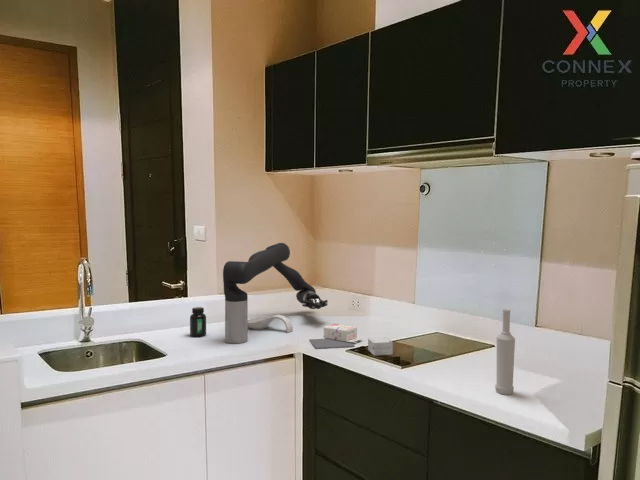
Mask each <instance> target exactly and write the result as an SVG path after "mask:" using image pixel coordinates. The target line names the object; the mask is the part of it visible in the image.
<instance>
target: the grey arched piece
mask: <svg viewBox="0 0 640 480" xmlns="http://www.w3.org/2000/svg"><path fill="white" fill-rule="evenodd" d="M276 319H278V320H281V321H282V322H283V324H284V325H285V331H286V334H287V333H291V332H293V330H294V329H293V327H294V326H293V324H292V323H291V321H290V320H289V318H288V317H286V316H284V315H282V314H275V315H272V316H269V317H257V318H255V317H254V318H250V319H248V328H250V329H252V330H264V329H266V327H268V326H269V325H270V324H271V323H272V322H273V321H274V320H276Z"/></svg>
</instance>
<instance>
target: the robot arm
mask: <svg viewBox="0 0 640 480" xmlns="http://www.w3.org/2000/svg"><path fill="white" fill-rule="evenodd" d="M289 247H290V246H288V244H287V243H284V242H278V243H275V244H272V245H269V246H267V247H266V248H265V249H263V250H259V251H257V252H254V253H253V254H251V255H250V256H249V258H248V261H234V260H229V261H226V262H225V263H224V265H223V269H222V280H223V295H224V304H225V305H224V311H225V312H224V313H225V314H224V339H225V340H224V341H225V343H226V344H227V343H229V344H243V343H246V342H248V338H249V336H248V335H249V334H248V332H249V331H248V328H249V327H248V320H249V319H248V318H249V317H248V315H249V314H248V311H249V309H248V307H249V306H248V301H249V298H248V297H249V296H248V292H246V291H244V290H242V289H240V288H239V286H238V285H246V284H247V283H249V282H250V281H252V280H253V279H254V278H255V277H256V276H259V275H260V274H262V273H264V272H266V271H269V270H270V269H271V268H274V269H275V270H276V271H277V272H278V273H280V275H282V276H283V277H284V278H285V279H286V281H288V284H289V285H290V286H291V287H292V289H293V290H294V291H297V293H296V294H295V295H296V300H297V301H298V302H299V303H300V304H301V305H302V307H303V308H304V307H306V308H309V309H310V310H316V309H317V310H320V309H321V308H324V307H326V306H329V305H328V299H325V300H322V299H321V297H320V296H319V295H318V293H317V291H316V289H315V288H314V287H313V286H312V285H311V284H309V283H307V282H306V281H305V279H304V278H303V276H302V275H301V274H300V272H298V271H297V270H296V269H294V268H293V267H291V266H288V265H287V264H285V263H283V262H286V261H287V260H288V259H289V258H290V255H291V250H290V248H289Z"/></svg>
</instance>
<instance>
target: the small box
mask: <svg viewBox="0 0 640 480" xmlns="http://www.w3.org/2000/svg"><path fill="white" fill-rule="evenodd" d="M367 351H368V352H370V353H371V354H372V355H373V356H391V355H392V356H393V353H394V342H393V341H392V339H390V338H389V337H387V336H380V337H368V338H367Z"/></svg>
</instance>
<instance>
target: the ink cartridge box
mask: <svg viewBox="0 0 640 480" xmlns="http://www.w3.org/2000/svg"><path fill="white" fill-rule="evenodd" d="M323 339H333V340H339V341H344V342H351V343H356V342H358V341H360V340H363V337H362V338H361V337H358V327H357V326H350V325H345V324H344V325H343V324H338V323H332V324H329V325H326V326H323Z"/></svg>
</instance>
